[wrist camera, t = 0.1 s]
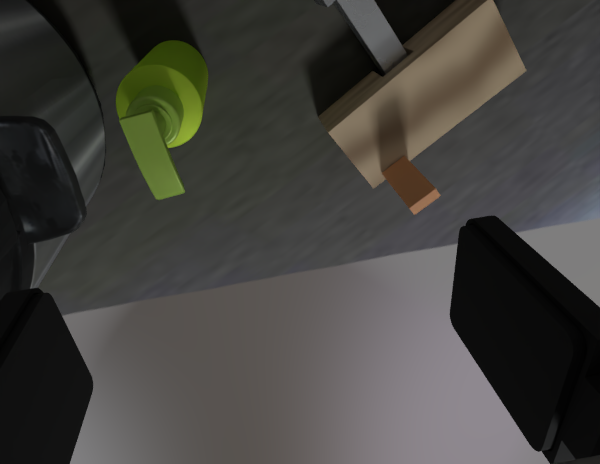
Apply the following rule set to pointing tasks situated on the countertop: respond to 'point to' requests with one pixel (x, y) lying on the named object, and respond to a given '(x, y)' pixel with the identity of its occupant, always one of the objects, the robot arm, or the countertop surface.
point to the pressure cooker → (42, 144)
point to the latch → (410, 185)
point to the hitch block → (425, 88)
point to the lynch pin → (371, 31)
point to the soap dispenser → (162, 110)
